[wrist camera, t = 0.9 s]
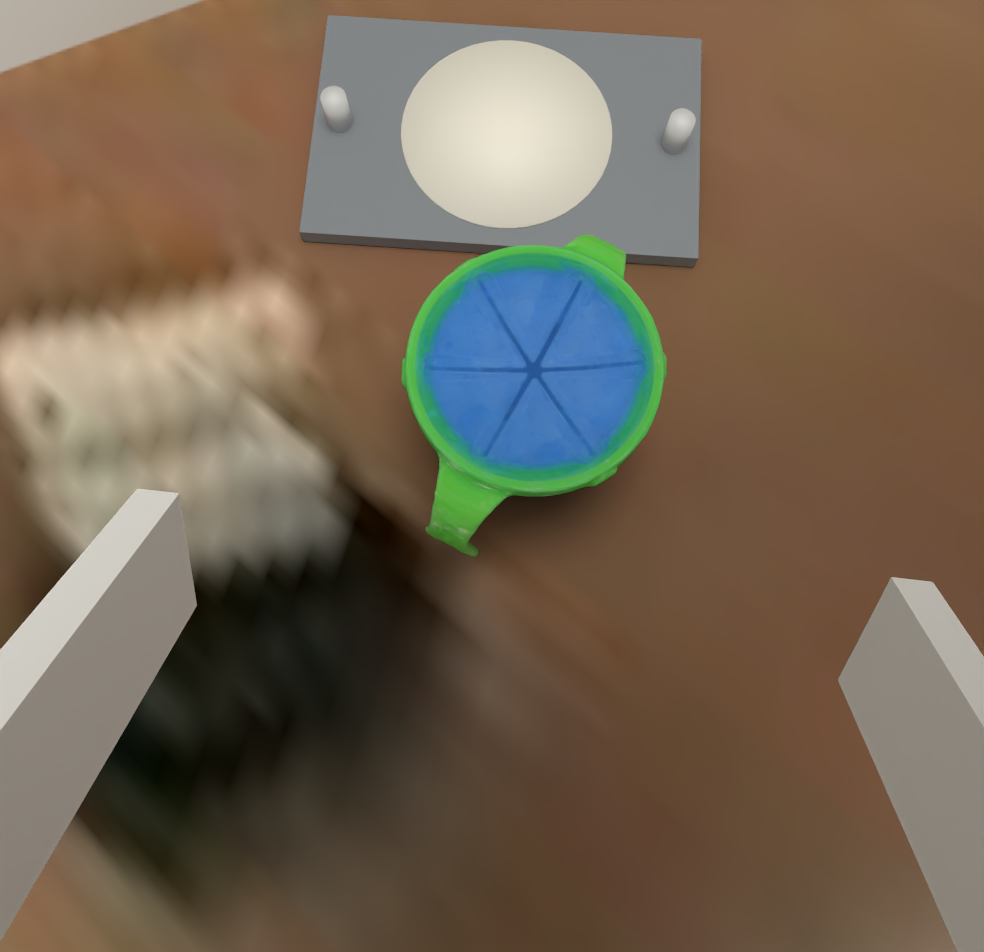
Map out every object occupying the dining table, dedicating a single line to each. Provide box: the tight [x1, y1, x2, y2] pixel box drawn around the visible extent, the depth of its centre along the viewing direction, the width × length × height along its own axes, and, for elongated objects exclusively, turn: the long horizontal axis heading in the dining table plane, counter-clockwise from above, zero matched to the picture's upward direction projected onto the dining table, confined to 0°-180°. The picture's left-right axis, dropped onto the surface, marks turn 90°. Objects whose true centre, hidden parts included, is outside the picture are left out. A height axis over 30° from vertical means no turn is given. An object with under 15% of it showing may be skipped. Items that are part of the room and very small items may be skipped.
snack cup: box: [402, 234, 667, 557], centre depth 34 cm, size 16×11×10 cm
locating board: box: [300, 15, 702, 267], centre depth 41 cm, size 22×14×3 cm, turn 86°
